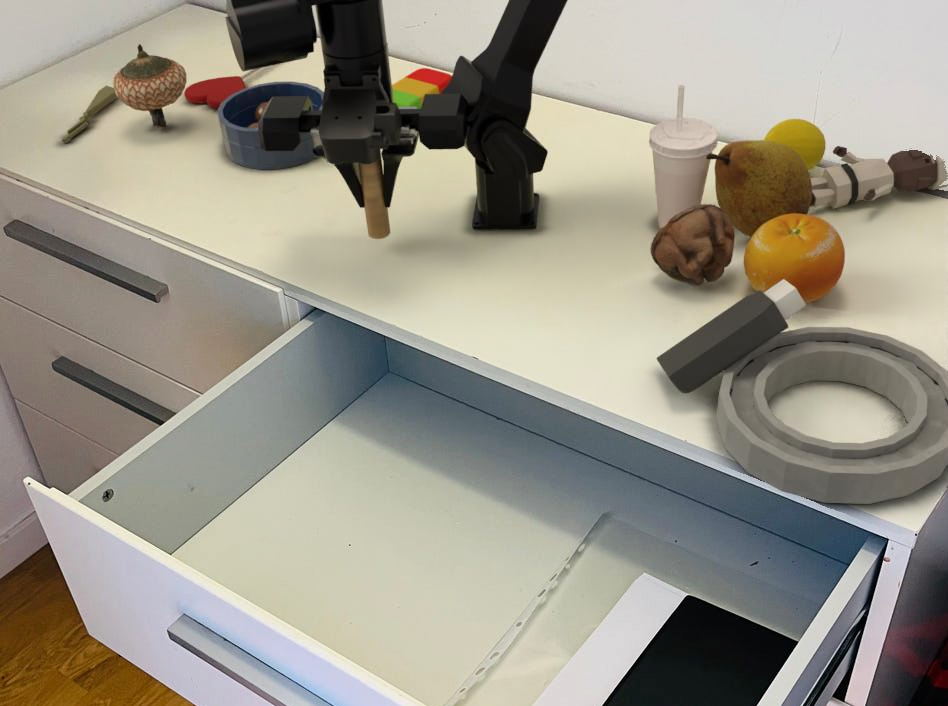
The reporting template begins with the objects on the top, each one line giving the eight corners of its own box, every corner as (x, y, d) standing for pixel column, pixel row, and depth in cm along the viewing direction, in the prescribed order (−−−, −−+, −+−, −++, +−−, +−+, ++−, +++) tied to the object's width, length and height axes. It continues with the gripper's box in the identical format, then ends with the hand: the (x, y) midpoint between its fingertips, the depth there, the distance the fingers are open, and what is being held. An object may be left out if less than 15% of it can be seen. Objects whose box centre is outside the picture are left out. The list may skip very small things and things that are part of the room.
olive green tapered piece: (107, 91, 144) (106, 84, 144) (129, 99, 144) (128, 92, 143) (44, 136, 137) (43, 130, 136) (68, 145, 136) (66, 138, 135)
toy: (785, 152, 117) (929, 118, 117) (781, 190, 120) (920, 158, 121) (817, 203, 112) (967, 167, 112) (811, 241, 116) (956, 207, 116)
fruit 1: (753, 185, 120) (814, 184, 124) (786, 157, 115) (849, 157, 119) (740, 137, 121) (801, 137, 125) (771, 107, 116) (834, 108, 120)
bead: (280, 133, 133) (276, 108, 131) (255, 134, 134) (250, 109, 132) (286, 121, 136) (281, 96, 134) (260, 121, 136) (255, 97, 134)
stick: (388, 239, 114) (378, 153, 108) (366, 239, 114) (354, 154, 108) (391, 227, 116) (381, 142, 109) (370, 227, 116) (358, 142, 110)
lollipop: (256, 52, 151) (177, 99, 142) (255, 45, 151) (175, 92, 142) (305, 63, 148) (227, 112, 139) (304, 56, 147) (226, 105, 138)
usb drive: (668, 376, 93) (686, 402, 94) (798, 288, 91) (814, 316, 92) (655, 358, 98) (672, 383, 99) (778, 273, 96) (794, 300, 97)
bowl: (322, 169, 128) (316, 130, 125) (214, 170, 129) (205, 132, 126) (341, 117, 137) (335, 80, 134) (239, 119, 138) (232, 82, 135)
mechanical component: (701, 484, 89) (704, 454, 87) (734, 344, 101) (737, 315, 99) (953, 521, 84) (962, 491, 82) (955, 369, 97) (963, 340, 95)
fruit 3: (713, 245, 106) (772, 189, 100) (777, 247, 111) (837, 193, 104) (750, 325, 103) (812, 272, 97) (814, 323, 108) (877, 273, 102)
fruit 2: (805, 165, 115) (746, 78, 108) (839, 211, 109) (778, 123, 102) (732, 219, 119) (669, 139, 111) (760, 268, 112) (696, 186, 105)
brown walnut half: (676, 256, 101) (651, 216, 104) (669, 311, 108) (645, 273, 110) (756, 228, 102) (729, 190, 104) (743, 285, 109) (719, 247, 111)
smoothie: (667, 201, 119) (675, 67, 109) (722, 219, 116) (736, 83, 106) (632, 229, 116) (637, 92, 106) (687, 248, 113) (698, 110, 103)
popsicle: (458, 89, 140) (457, 74, 139) (379, 141, 132) (377, 125, 131) (422, 79, 143) (421, 65, 142) (342, 129, 135) (340, 114, 133)
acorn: (211, 122, 138) (192, 38, 131) (159, 151, 133) (136, 66, 126) (164, 106, 142) (143, 23, 135) (112, 134, 137) (87, 50, 130)
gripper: (228, 88, 97) (263, 251, 108) (451, 84, 95) (463, 250, 106) (257, 33, 105) (287, 190, 116) (464, 28, 103) (474, 188, 114)
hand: (375, 205), depth 113 cm, fingers closed on stick, 2 cm apart
